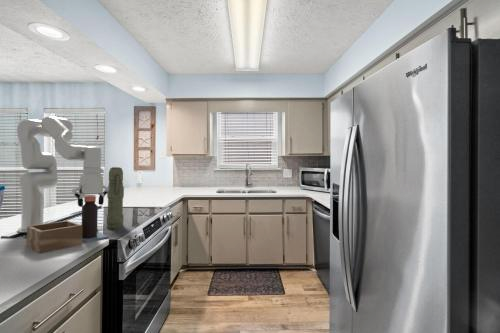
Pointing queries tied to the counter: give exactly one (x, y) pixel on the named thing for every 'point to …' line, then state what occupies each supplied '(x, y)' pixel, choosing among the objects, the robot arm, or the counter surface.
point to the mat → (95, 238)
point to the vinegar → (89, 217)
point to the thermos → (115, 198)
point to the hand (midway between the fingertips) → (90, 205)
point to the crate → (54, 236)
